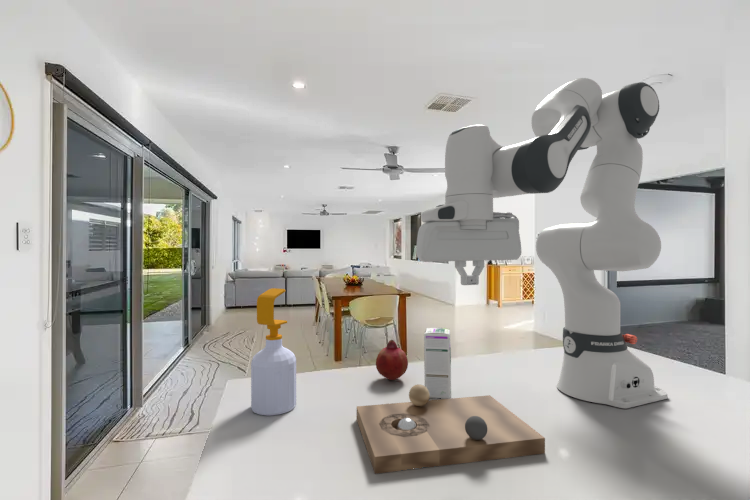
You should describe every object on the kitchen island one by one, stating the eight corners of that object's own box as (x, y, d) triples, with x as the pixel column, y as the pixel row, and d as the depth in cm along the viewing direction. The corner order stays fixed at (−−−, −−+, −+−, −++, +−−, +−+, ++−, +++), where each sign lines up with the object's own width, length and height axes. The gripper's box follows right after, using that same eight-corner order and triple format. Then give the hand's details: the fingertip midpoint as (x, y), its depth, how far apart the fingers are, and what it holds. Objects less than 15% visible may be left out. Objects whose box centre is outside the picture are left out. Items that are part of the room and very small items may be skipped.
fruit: (413, 378, 97) (413, 338, 97) (398, 387, 90) (398, 345, 90) (386, 372, 101) (386, 334, 101) (369, 381, 94) (369, 341, 94)
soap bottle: (304, 402, 81) (304, 288, 81) (276, 420, 73) (276, 292, 73) (271, 395, 85) (271, 286, 85) (241, 411, 77) (241, 290, 77)
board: (489, 407, 79) (489, 395, 79) (544, 453, 61) (544, 437, 61) (356, 419, 73) (356, 406, 73) (374, 473, 56) (374, 456, 56)
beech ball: (425, 400, 76) (425, 380, 76) (432, 409, 72) (432, 388, 72) (406, 402, 75) (406, 382, 75) (412, 410, 71) (412, 389, 71)
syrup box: (451, 399, 83) (451, 333, 83) (423, 397, 84) (423, 332, 84) (451, 390, 88) (451, 328, 88) (425, 388, 90) (425, 326, 89)
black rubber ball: (481, 432, 63) (481, 411, 63) (491, 443, 60) (491, 420, 60) (461, 434, 62) (461, 413, 62) (470, 445, 59) (470, 422, 59)
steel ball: (417, 420, 68) (402, 410, 68) (423, 429, 65) (407, 419, 64) (406, 437, 68) (390, 427, 67) (412, 447, 64) (395, 437, 64)
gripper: (509, 213, 77) (510, 281, 78) (413, 213, 73) (414, 285, 73) (528, 210, 71) (528, 284, 71) (423, 210, 67) (424, 288, 67)
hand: (469, 284), depth 72 cm, fingers closed
